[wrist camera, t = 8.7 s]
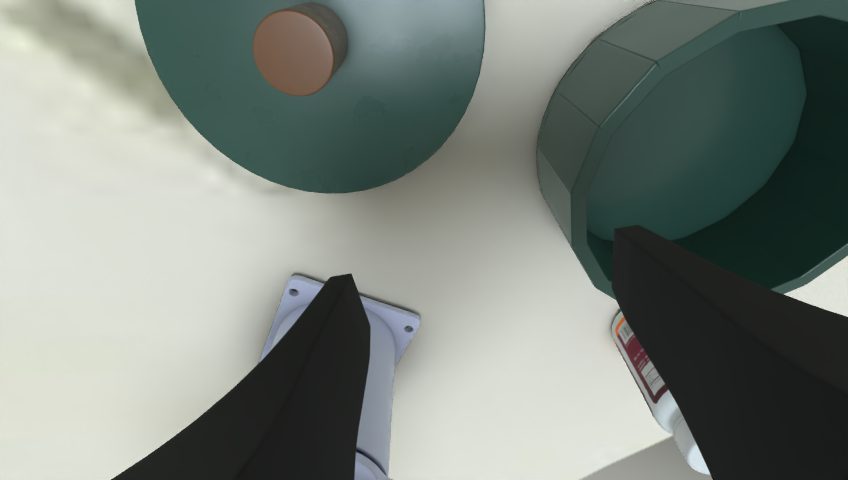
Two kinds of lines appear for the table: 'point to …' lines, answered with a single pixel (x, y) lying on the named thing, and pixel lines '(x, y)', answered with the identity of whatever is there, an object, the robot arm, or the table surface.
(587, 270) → the pan
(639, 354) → the pill bottle
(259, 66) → the pan lid
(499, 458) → the table surface
